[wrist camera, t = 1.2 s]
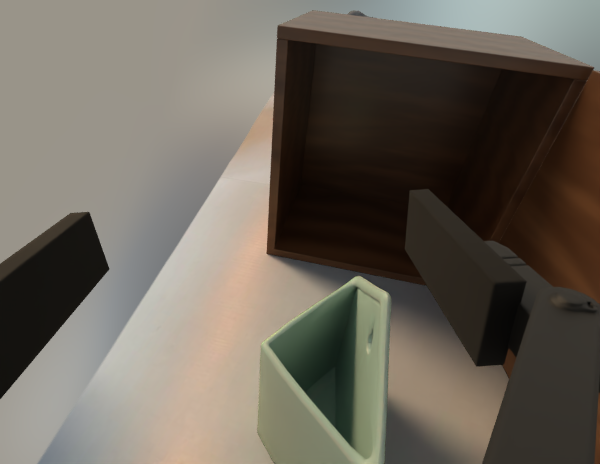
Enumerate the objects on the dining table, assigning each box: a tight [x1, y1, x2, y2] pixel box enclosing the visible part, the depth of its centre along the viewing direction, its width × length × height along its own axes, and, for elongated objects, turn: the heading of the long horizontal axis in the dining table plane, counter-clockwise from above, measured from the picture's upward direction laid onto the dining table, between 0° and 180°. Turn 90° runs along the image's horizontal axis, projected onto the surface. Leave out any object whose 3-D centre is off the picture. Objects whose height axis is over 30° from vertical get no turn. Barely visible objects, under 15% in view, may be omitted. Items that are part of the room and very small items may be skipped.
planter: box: [257, 276, 391, 464], centre depth 27 cm, size 16×8×20 cm, turn 176°
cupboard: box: [267, 10, 594, 285], centre depth 52 cm, size 22×30×30 cm
